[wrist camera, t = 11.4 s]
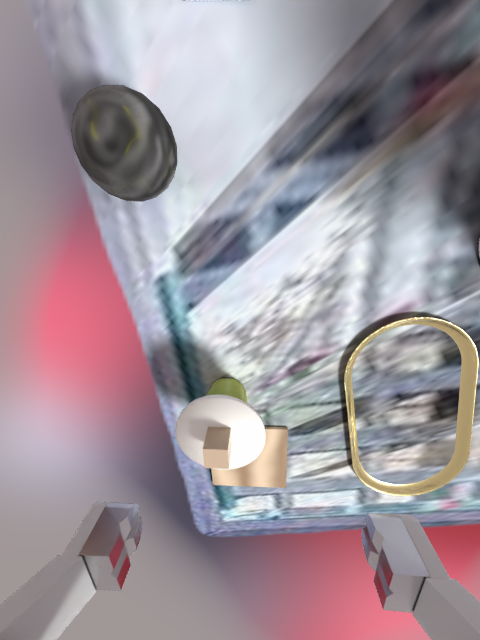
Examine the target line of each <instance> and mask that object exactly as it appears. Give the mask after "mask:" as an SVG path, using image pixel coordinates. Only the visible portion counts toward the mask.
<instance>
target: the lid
mask: <svg viewBox="0 0 480 640" xmlns="http://www.w3.org/2000/svg"><path fill="white" fill-rule="evenodd" d="M175 433H176V439H177V442H178V444H179V446H180V448H181V449H182V450H183V452H184V453H185V454H186V455H187V456H188V457H189V458H191V459H192V460H194V461H195V462H197V463H199V464H201V465H203V466H204V468H213V469H220V470H229V469H236V468H240V467H243V466H245V465H247V464H249V463H251V462H252V461H254V460H255V459H256V458H257V457H258V456H259V455H260V453H261V452H262V450H263V448H264V445H265V439H266V435H265V426H264V423H263V420H262V418H261V417H260V415H259V414H258V412H257V411H256V410H255V409H254V408H253V407H252V406H250V405H249V404H248V403H246V402H244V401H242V400H240V399H238V398H235V397H232V396H227V395H207V396H203V397H200V398H198V399H195V400H194V401H192V402H190V403H189V404H188V405H187V406H186V407H185V408H184V409H183V410H182V412H181V413H180V416H179V418H178V420H177V423H176V429H175Z"/></svg>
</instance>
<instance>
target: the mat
mask: <svg viewBox="0 0 480 640" xmlns="http://www.w3.org/2000/svg"><path fill="white" fill-rule="evenodd" d="M287 433H288V429H287V427H265V435H266V439H265V445H264V448H263V450H262V452H261V453H260V455H259V456H258V457H257V458H256V459H255V460H254V461H252V462H251V463H249V464H247V465H245V466H243V467H240V468H236V469H229V470H220V469H213V468H211V470H212V479H213V485H228V486H255V487H282V488H286V465H287Z"/></svg>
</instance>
